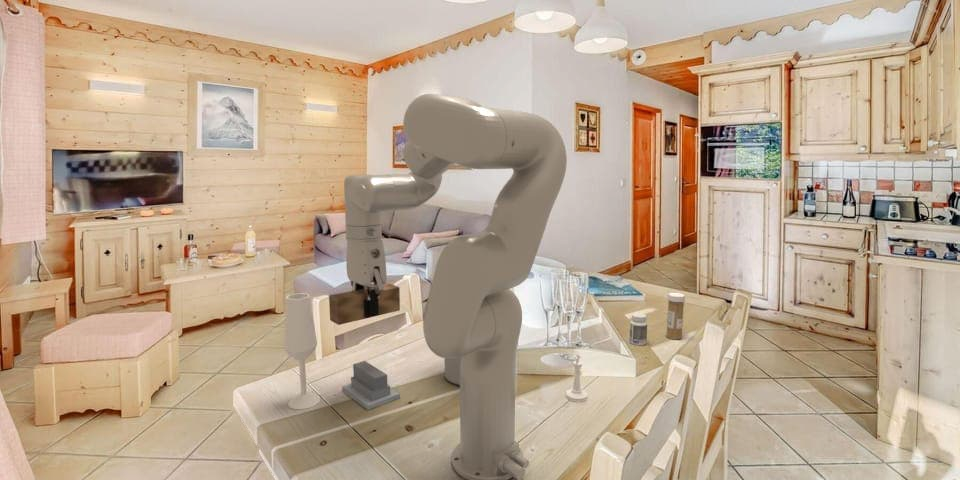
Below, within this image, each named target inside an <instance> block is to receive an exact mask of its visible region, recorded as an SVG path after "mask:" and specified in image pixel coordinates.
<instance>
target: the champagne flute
mask: <svg viewBox="0 0 960 480" xmlns="http://www.w3.org/2000/svg"><path fill="white" fill-rule="evenodd" d="M284 310H285V312H284V315H285V316H284V342H283V343H284V345H283V346H284V347H283V348H284V350H285V352H286V354H287V355H289V356H290V357H291V358H293V360H296V361H298V363H299V365H298V367H299V380H300V381H299V383H300V394H298V395H296V396H295V397H294V398H291V399H290V400H289V401H288V407H289V408H291V409H295V410H305V409H308V408H312V407H314V406H316V405H318V404H320V401H321V397H320V396H319V395H316V394H314V393H310V392H308V391H307V374H306V372H307V371H306V360H307V359H308V358H309V357H310V356H311V355H313V353H314V352H315V350H316V348H317V346H318V339H317V333H316V328H315V322H314V315H313V309H312V303H311V297H310V294H309V293H305V292H304V293H303V292H302V293H300V292H299V293H292V294H289V295H287V296H285V309H284Z"/></svg>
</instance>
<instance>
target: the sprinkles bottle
mask: <svg viewBox="0 0 960 480" xmlns="http://www.w3.org/2000/svg"><path fill="white" fill-rule="evenodd" d="M685 299H686V295H685V294H684V293H680V292H669V293H668V296H667V301H668V307H667V318H666V319H667V320H666V335H665V337H666V338H668V339H670V340H676V341H677V340H681V339H682V338H683V325H684V324H683V323H684V306H685V305H684V304H685Z"/></svg>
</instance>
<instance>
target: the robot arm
mask: <svg viewBox="0 0 960 480" xmlns="http://www.w3.org/2000/svg"><path fill="white" fill-rule="evenodd" d="M403 115H404V117H403V122H402V123H403V127H402V128H403V132H404V135H405V137H406V139H407V141H405V143H404V146H403V149H402V150H403V151H402V154H403V160H404V163H405V164H406V167H407V168H408V170H409V171H410V172H409V173H406V174H403V173H401V174H400V173H399V174H397V173H396V174H350V175H347V176H345V178H344V181H343V190H344V191H343V192H344V193H343V194H344V218H345V219H344V222H345V240H346V241H347V242H346V274H347V275H346V276H347V278H348V279H349V282H350V285H351V287H352V289H351V291H355V290H360V289H365V297H366V300H364V316H365V318H366V319H369V317H370V318H375V317H379V316H378V314H379V307H378V298H379V297H380V296H379V295H380V293H381V292H382V291H383V290H384V286H383V285H386V283H387V281H388V277H387V262H386V254H385V247H384V242H383V240H382V237H383V235H382V234H383V233H382V229H383V228H382V213H391V212H401V211H402V212H403V211H410V210H415V209H416V208H419V207H421V206H422V205H424V204H425V203H427V202H428V201H429V200H431V199H432V198H433V197H434V196H435V195H436V194H437V193H438V192H439V189H440V188H441V184H442V181H443V175H444V173H445V172H447V171H448V170H450V169H451V168H452V167H454V165H458V166H460V167H464V168H466V169H467V168H468V169H473V170H505V169H507V170H508V169H509V170H511V169H512V170H513V173H512V174H511V176H510V178H509V179H508V181H506V183H505V184H504V185H503V187H502V188H501V190H500V191H499V193H498V194H497V197H496V199H495V201H494V204H493V209H492V212H491V215H490V218H489V221H488V222H487V225H486V227H485V228H484V229H483V230H482V231H479V232H473V233H472V232H471V233H467V234H463V235H460V236H456V237H454V239H452V240H450V241H449V242H448V243H447V244H446V246H445V247H444V248H443V249H442V251H441V253H440V254H439V256H438V259H437V263H436V265H435V268H434V273H433V277H432V280H431V284H430V289H429V293H428V297H427V300H426V304H425V307H424V313H423V320H422V328H423V329H422V330H423V336H424V339H425V343H426V345H427V347H428V349H429V350H430V351H431V352H432V353H433V354H434V355H436V356H437V357H440V358H442V359H445V358H446V359H453V358H458V357H461V356H462V359H461V365H460V385H459V417H460V418H459V423H460V424H459V425H460V427H459V428H460V429H459V430H460V431H459V432H460V434H459V436H460V439H459V441H460V442H459V443H458V444H457V445H456V446H455V448H453V451H452V454H451V465H452V468H453V470H454V471H455V472H456V473H457V474H458V475H459V476H461V478H464V479H465V480H509V479H512V478H515V480H522V479H523V478H524V477H525V474H526V469H527V468H528V466H529V465H530V461H529V460H528V459H526V458H524V453H523V451H522V449H521V447H520V443H519V442H517V441H516V440H515V439H516V437H515V436H516V435H515V434H516V433H515V432H516V431H515V429H516V378H517V377H516V374H517V371H516V370H517V366H516V365H517V352H518V344H519V339H520V334H521V330H522V324H523V311H522V310H523V309H522V306H521V302H520V300H519V298H518V296H517V295H516V294H515V293H514V292H513V290H511V289H513V288H515V287H518V286H519V285H521V284H522V283H524V282H525V281H526V280H527V279H528V277H529V276H530V272H531V271H532V268H533V266H534V262H535V260H536V257H537V254H538V252H539V248H540V245H541V242H542V239H543V236H544V233H545V231H546V228H547V223H548V222H549V221H548V220H549V217H550V215H551V212H552V210H553V208H554V206H555V205H554V204H555V202H556V200H557V198H558V195H559V193H560V191H561V188H562V185H563V183H564V180H565V176H566V171H567V164H568V163H567V162H568V161H567V160H568V159H567V157H568V155H567V151H566V145H565V142H564V139H563V137H562V135H561V134H560V132H559V131H558V129H557V128H556V127H555V126H554V125H553V123H552V122H550V121H549V120H547V119H546V118H544V117H542V116H539V115H538V114H534V113H532V112H531V113H530V112H527V111H521V110H518V111H517V110H508V109H500V108H493V107H483V106H482V105H481V104H479V103H478V102H476V101H474V100H472V99H470V98H467V97H461V96H455V95H454V96H453V95H445V94H438V93H424V94H421V95H419V96H417V97H415V98H414V100H412V101H411V102H410V104H409V105H408V107H407V108H406V110H405V113H404V114H403ZM371 283H372V284H371ZM369 288H374V289H373V290H371V292H370V290H369Z"/></svg>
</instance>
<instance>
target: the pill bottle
mask: <svg viewBox="0 0 960 480" xmlns="http://www.w3.org/2000/svg"><path fill="white" fill-rule="evenodd" d="M647 335H648V322H647V315H646V314H644V313H641V312H637V313H636V312H635V313H632V314H631V320H630V324H629V343H630V344H632V345H635V346H644V345H646V344H647V340H648V339H647Z"/></svg>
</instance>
